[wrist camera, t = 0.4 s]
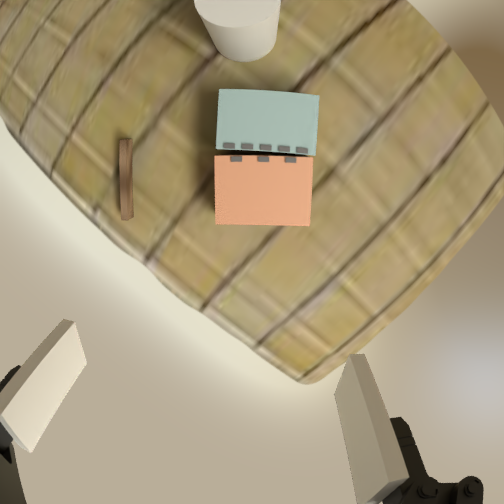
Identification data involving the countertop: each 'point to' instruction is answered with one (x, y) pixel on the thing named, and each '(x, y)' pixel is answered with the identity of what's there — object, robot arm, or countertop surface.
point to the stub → (263, 189)
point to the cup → (241, 26)
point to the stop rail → (126, 179)
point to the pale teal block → (267, 121)
